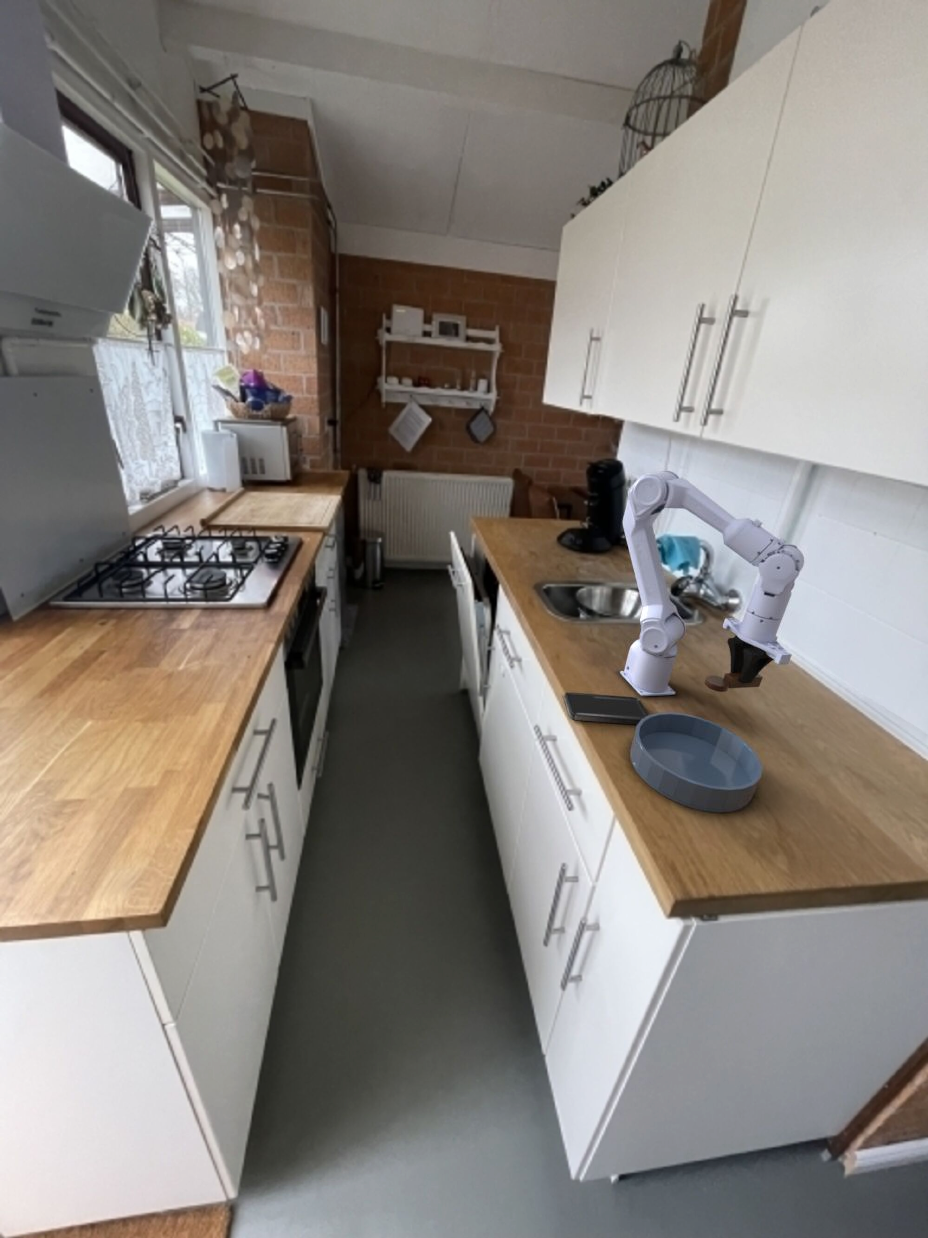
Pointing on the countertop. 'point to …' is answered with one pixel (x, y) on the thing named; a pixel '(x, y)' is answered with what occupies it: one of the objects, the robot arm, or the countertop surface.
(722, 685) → the brown elongated piece
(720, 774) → the shallow round tray
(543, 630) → the countertop surface
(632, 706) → the phone
